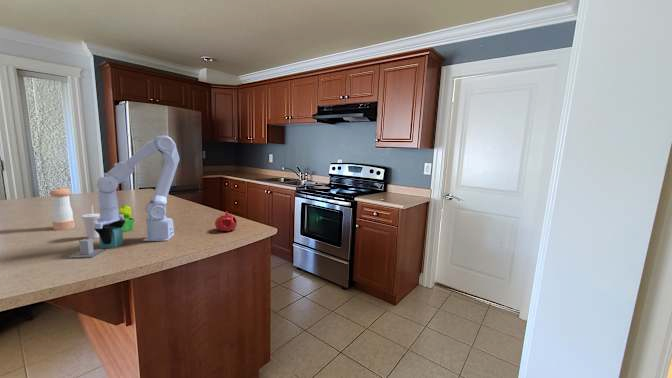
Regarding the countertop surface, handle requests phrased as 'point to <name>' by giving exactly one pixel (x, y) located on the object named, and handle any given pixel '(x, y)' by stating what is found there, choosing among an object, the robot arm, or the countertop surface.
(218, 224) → the pomegranate
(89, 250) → the grey square base plate
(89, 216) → the smoothie
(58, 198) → the salt shaker
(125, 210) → the fruit basket
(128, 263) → the countertop surface
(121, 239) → the teal foam brick
